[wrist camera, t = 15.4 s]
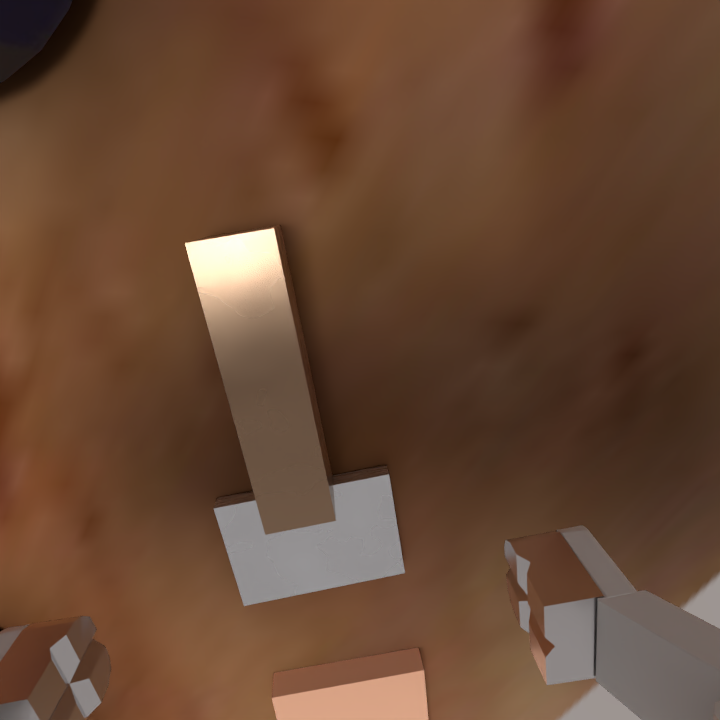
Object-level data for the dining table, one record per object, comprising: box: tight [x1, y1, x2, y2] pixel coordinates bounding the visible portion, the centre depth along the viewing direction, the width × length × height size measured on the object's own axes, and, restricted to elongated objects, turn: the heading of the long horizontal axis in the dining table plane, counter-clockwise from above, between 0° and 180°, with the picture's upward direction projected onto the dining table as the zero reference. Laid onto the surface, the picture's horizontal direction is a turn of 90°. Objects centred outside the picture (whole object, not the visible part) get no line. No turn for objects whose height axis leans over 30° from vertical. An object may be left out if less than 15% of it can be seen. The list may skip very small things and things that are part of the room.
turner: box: [185, 225, 405, 606], centre depth 17 cm, size 7×15×3 cm, turn 9°
